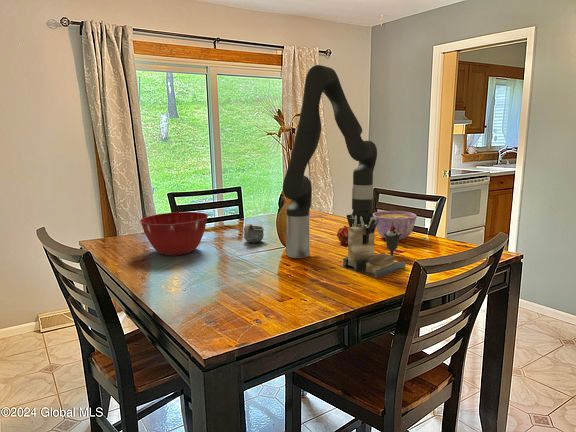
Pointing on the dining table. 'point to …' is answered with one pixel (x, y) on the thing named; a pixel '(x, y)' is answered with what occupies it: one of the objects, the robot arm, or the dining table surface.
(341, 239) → the dragon fruit
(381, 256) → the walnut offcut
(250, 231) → the mug
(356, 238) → the pale wood block
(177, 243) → the mixing bowl
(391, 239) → the sundae
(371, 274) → the rack
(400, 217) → the bowl of food
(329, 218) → the dining table surface
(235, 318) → the dining table surface
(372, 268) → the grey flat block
